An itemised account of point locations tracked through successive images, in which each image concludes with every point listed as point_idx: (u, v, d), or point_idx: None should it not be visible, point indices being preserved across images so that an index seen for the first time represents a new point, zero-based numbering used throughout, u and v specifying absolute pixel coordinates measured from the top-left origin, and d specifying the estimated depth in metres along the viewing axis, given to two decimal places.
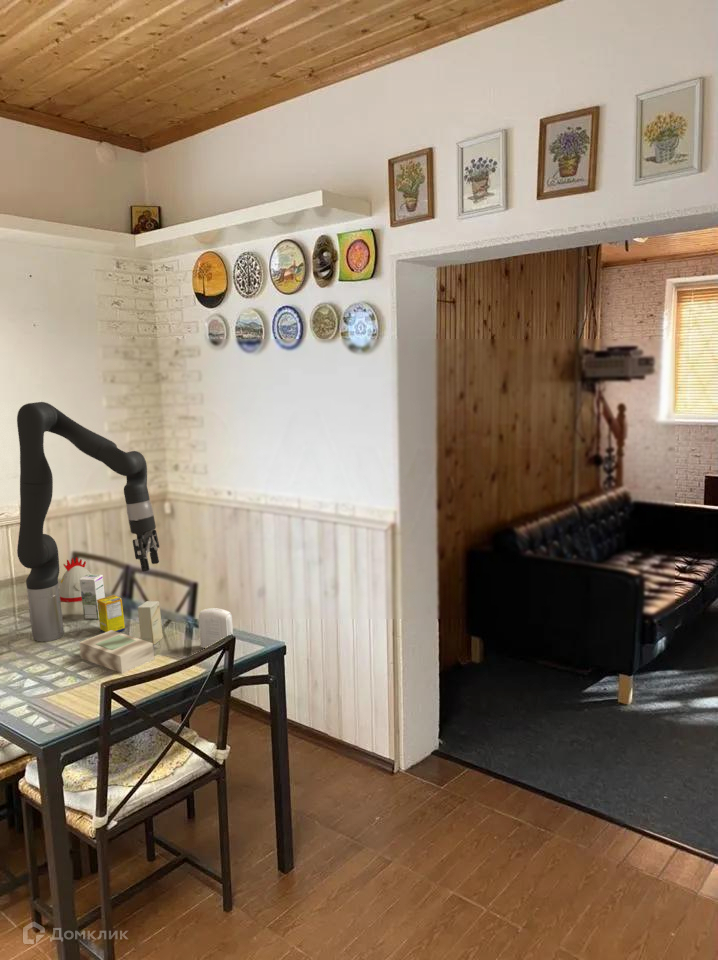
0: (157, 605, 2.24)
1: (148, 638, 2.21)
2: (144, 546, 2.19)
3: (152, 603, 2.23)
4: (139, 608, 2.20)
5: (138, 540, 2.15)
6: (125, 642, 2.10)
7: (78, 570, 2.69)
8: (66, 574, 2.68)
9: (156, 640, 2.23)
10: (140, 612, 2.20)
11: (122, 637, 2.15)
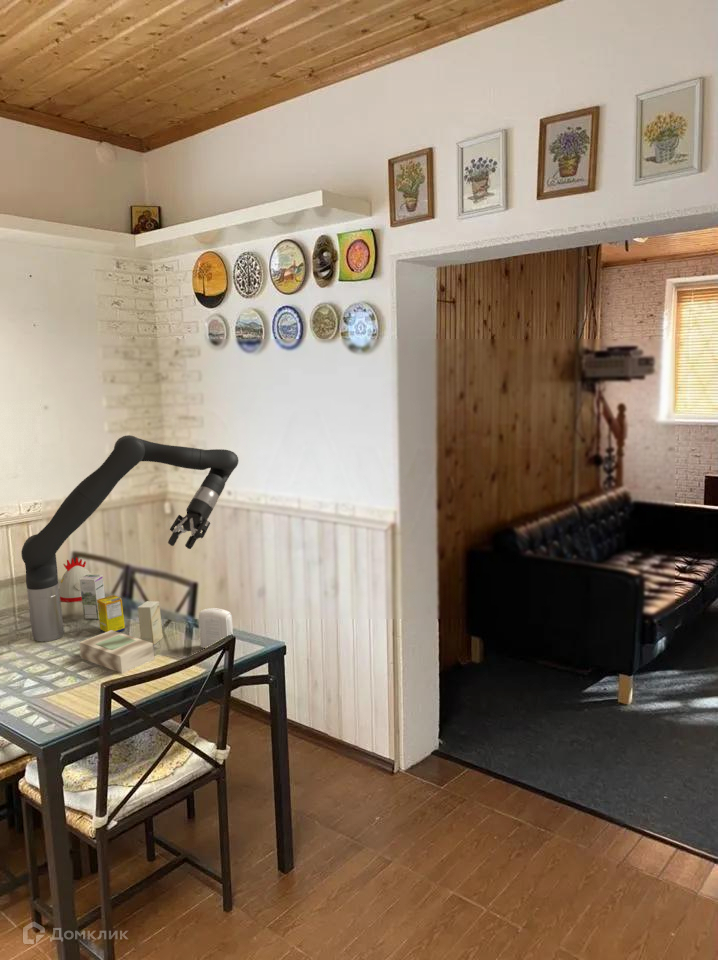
0: (157, 605, 2.24)
1: (148, 638, 2.21)
2: (196, 528, 2.32)
3: (152, 603, 2.23)
4: (139, 608, 2.20)
5: (209, 522, 2.31)
6: (125, 642, 2.10)
7: (78, 570, 2.69)
8: (66, 574, 2.68)
9: (156, 640, 2.23)
10: (140, 612, 2.20)
11: (122, 637, 2.15)
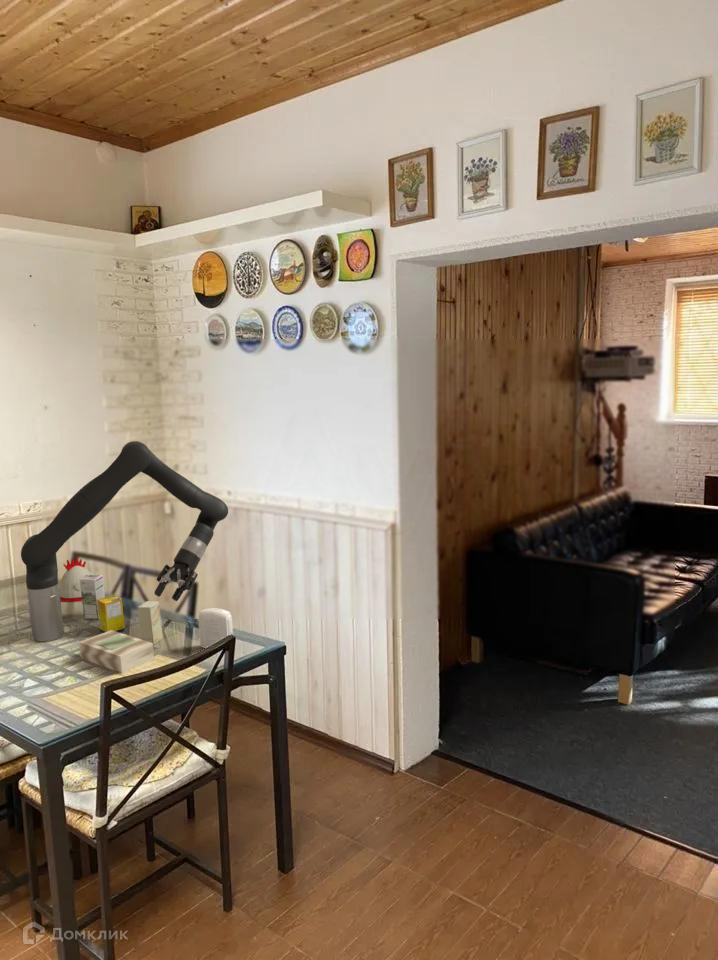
0: (157, 605, 2.24)
1: (148, 638, 2.21)
2: (183, 579, 2.29)
3: (152, 603, 2.23)
4: (139, 608, 2.20)
5: (196, 574, 2.28)
6: (125, 642, 2.10)
7: (78, 570, 2.69)
8: (66, 574, 2.68)
9: (156, 640, 2.23)
10: (140, 612, 2.20)
11: (122, 637, 2.15)
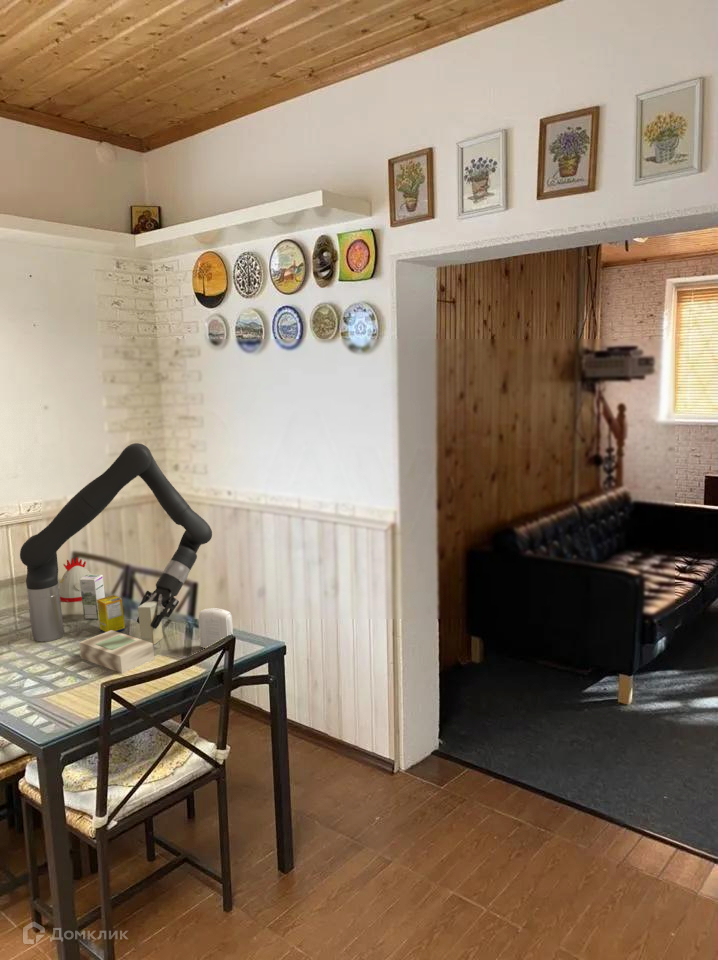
0: (157, 605, 2.24)
1: (149, 638, 2.21)
2: (164, 605, 2.24)
3: (152, 603, 2.23)
4: (139, 608, 2.20)
5: (177, 601, 2.23)
6: (125, 642, 2.10)
7: (78, 570, 2.69)
8: (66, 574, 2.68)
9: (156, 640, 2.23)
10: (140, 612, 2.20)
11: (122, 637, 2.15)
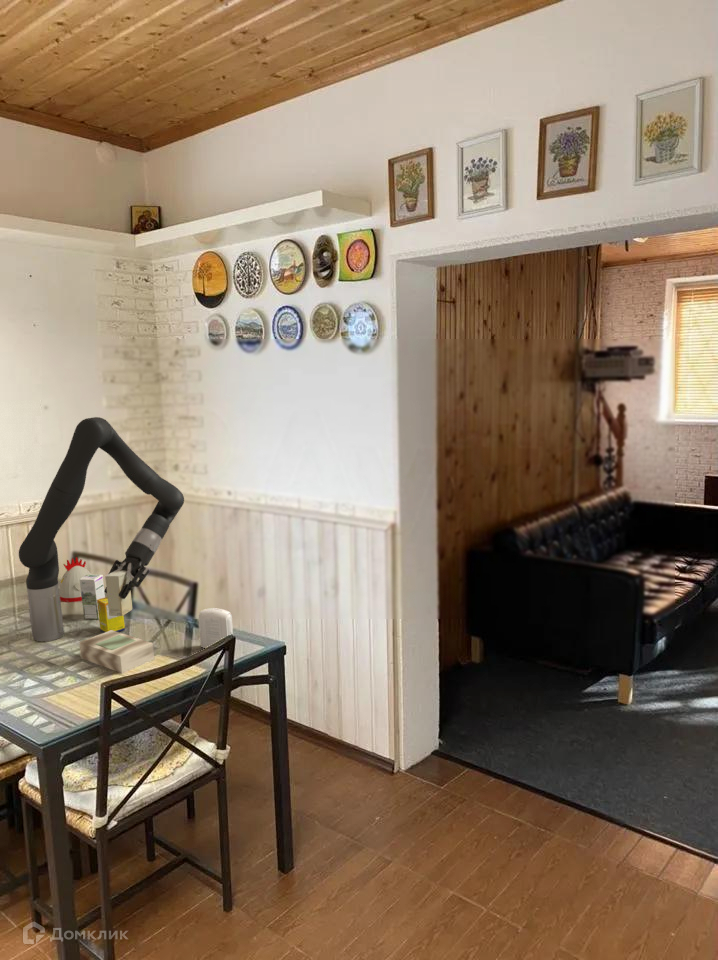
0: (126, 574, 2.12)
1: (117, 609, 2.09)
2: (133, 575, 2.13)
3: (121, 572, 2.11)
4: (107, 577, 2.08)
5: (148, 570, 2.11)
6: (125, 642, 2.10)
7: (78, 570, 2.69)
8: (66, 574, 2.68)
9: (125, 611, 2.11)
10: (108, 581, 2.08)
11: (122, 637, 2.15)
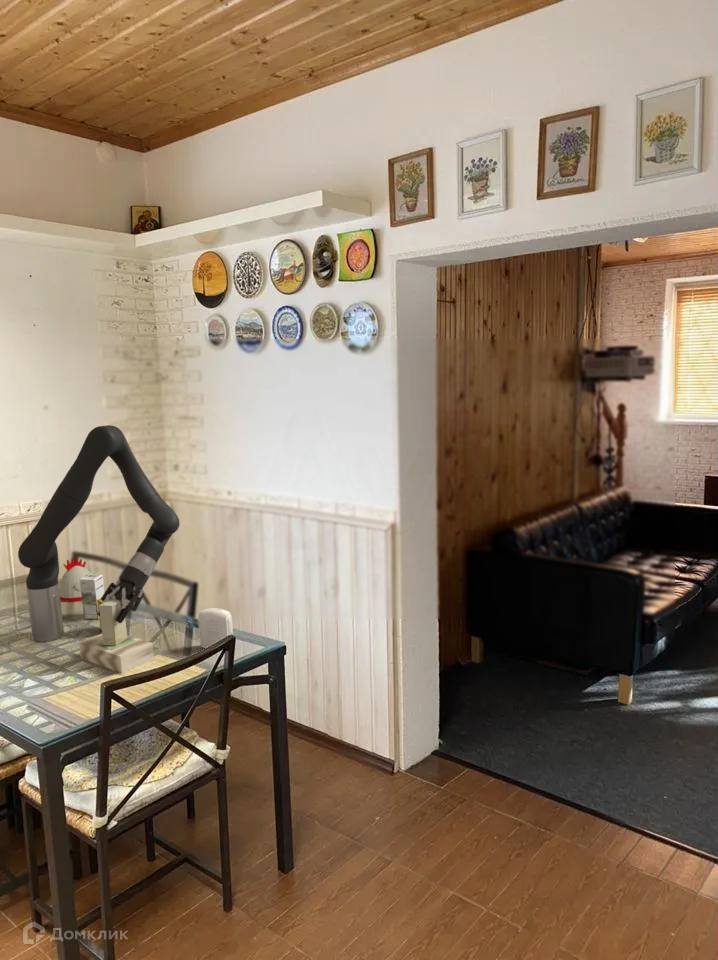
0: (121, 603, 2.11)
1: (110, 638, 2.08)
2: (129, 599, 2.11)
3: (115, 601, 2.10)
4: (100, 606, 2.07)
5: (143, 593, 2.10)
6: (125, 642, 2.10)
7: (78, 570, 2.69)
8: (66, 574, 2.68)
9: (119, 640, 2.10)
10: (101, 610, 2.07)
11: None
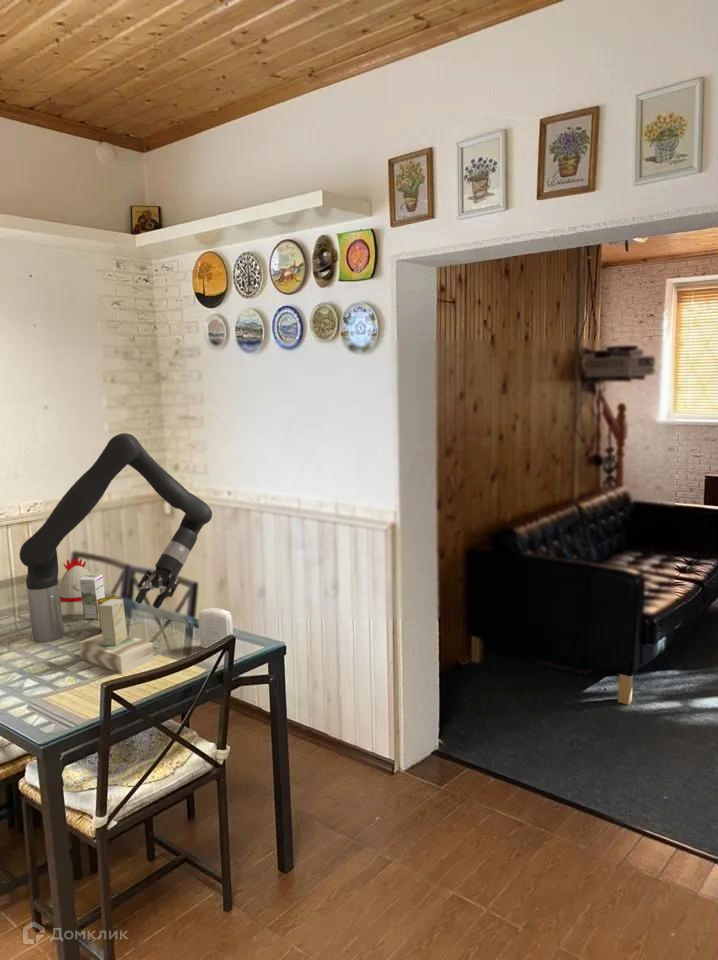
0: (121, 603, 2.11)
1: (110, 638, 2.08)
2: (165, 586, 2.21)
3: (115, 601, 2.10)
4: (100, 606, 2.07)
5: (178, 580, 2.20)
6: (125, 642, 2.10)
7: (78, 570, 2.69)
8: (66, 574, 2.68)
9: (119, 640, 2.10)
10: (101, 610, 2.07)
11: None
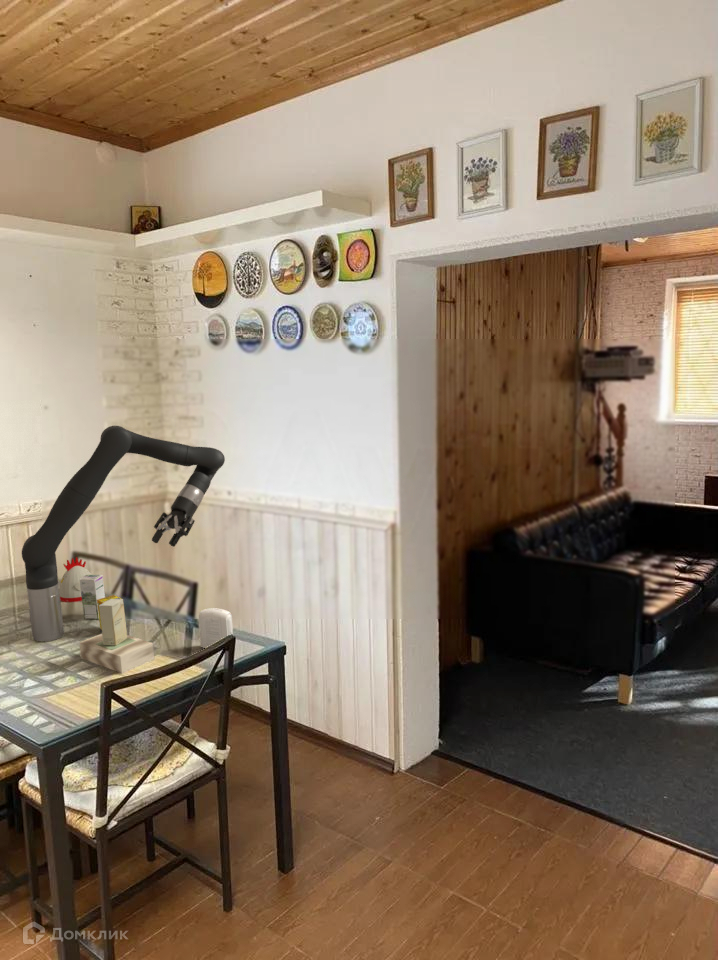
0: (121, 603, 2.11)
1: (110, 638, 2.08)
2: (180, 526, 2.31)
3: (115, 601, 2.10)
4: (100, 606, 2.07)
5: (193, 520, 2.30)
6: (125, 642, 2.10)
7: (78, 570, 2.69)
8: (66, 574, 2.68)
9: (119, 640, 2.10)
10: (101, 610, 2.07)
11: None
